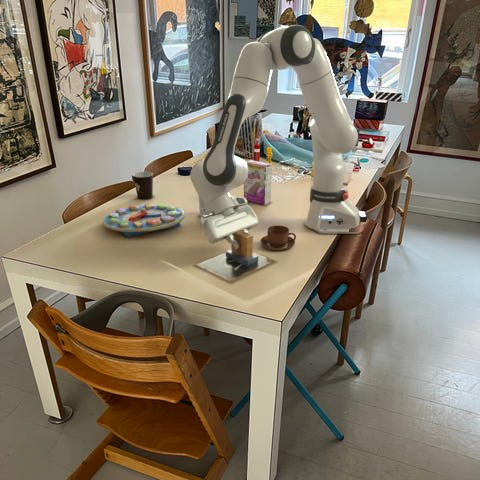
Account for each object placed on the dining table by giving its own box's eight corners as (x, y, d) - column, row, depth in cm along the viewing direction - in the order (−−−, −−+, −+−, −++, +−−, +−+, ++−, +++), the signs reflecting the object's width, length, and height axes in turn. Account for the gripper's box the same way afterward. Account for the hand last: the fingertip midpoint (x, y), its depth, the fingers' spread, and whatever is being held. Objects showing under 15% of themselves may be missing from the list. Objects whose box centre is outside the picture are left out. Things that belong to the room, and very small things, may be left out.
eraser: (225, 256, 158) (225, 231, 153) (236, 252, 160) (236, 226, 156) (247, 266, 152) (247, 240, 147) (258, 261, 155) (259, 235, 150)
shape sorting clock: (167, 205, 201) (166, 191, 198) (197, 229, 179) (197, 214, 176) (94, 218, 189) (92, 203, 185) (117, 246, 166) (115, 229, 163)
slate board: (239, 247, 165) (239, 246, 165) (274, 262, 156) (274, 260, 155) (195, 266, 153) (195, 264, 153) (230, 282, 144) (230, 281, 143)
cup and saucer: (290, 238, 172) (291, 222, 169) (298, 252, 162) (299, 235, 159) (257, 240, 171) (257, 223, 167) (263, 254, 161) (264, 237, 157)
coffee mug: (157, 199, 208) (154, 176, 203) (137, 201, 206) (134, 178, 200) (151, 191, 217) (148, 169, 212) (132, 193, 215) (129, 171, 209)
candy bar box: (243, 200, 206) (243, 162, 198) (249, 197, 210) (250, 159, 201) (264, 206, 201) (265, 166, 192) (271, 202, 204) (272, 163, 195)
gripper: (201, 211, 145) (224, 251, 144) (249, 196, 157) (269, 232, 156) (193, 221, 150) (214, 260, 149) (239, 206, 162) (259, 241, 162)
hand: (243, 246), depth 153 cm, fingers closed on eraser, 3 cm apart
